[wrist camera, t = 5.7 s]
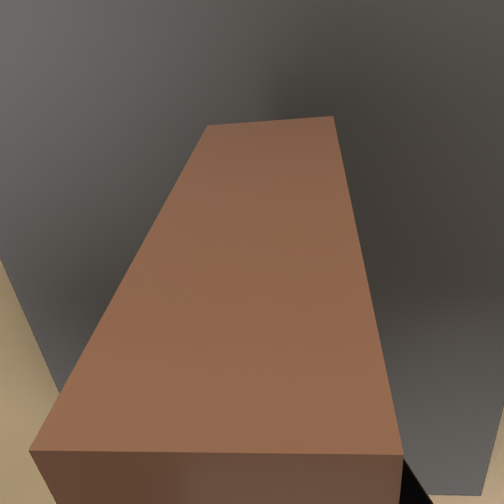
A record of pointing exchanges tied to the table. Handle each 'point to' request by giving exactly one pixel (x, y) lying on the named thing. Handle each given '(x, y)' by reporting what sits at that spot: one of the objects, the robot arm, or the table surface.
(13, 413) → the table surface
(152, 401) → the block
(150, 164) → the mat
